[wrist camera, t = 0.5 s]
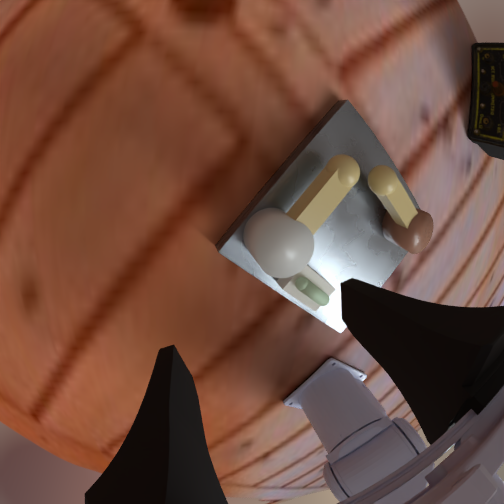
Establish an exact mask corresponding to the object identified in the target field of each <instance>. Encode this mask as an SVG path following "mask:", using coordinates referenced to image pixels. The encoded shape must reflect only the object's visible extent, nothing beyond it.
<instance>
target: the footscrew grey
mask: <svg viewBox="0 0 504 504" xmlns="http://www.w3.org/2000/svg"><path fill="white" fill-rule="evenodd" d="M359 177H360V168H359V165H358V163H357V162H356V160H355V159H353V158H352V157H351V156H348V155H345V154H339V155H335V156H333V157H332V158H331V159H330V160H329V161H328V163H327V165H326V166H325V167H324V169H323V170H322V171H321V172H320V173H319V175H318V176H317V177H316V178H315V179H314V181H313V182H312V183H311V184H310V185H309V187H308V188H307V189H306V190H305V191H304V193H303V194H302V195H301V196H300V197H299V199H298V200H297V201H296V202H295V203H294V205H293V206H292V207H291V208H290V209H289V211H288V212H287V213H286V212H284V211H283V210H281V209H278V208H265V209H262V210H260V211H258V212H256V213H255V214H254V215H252V217H251V218H250V219H249V220H248V222H247V223H246V226H245V228H244V233H243V239H244V244H245V246H246V248H247V249H248V251H249V252H250V254H251V255H252V256H253V258H254V259H255V260H256V262H257V263H258V264H259V266H260V267H261V268H262V270H263V271H264V272H265V273H266V274H268V275H270V276H272V277H275V278H287V277H291V276H293V275H295V274H297V273H299V272H300V271H301V270H303V269H304V268H305V267H306V265H307V264H308V263H309V261H310V259H311V257H312V255H313V251H314V238H313V235H314V234H315V233H316V231H317V230H318V229H319V228H320V227H321V225H322V224H323V223H324V222H325V220H326V219H327V218H328V217H329V216H330V214H331V213H332V212H333V211H334V209H335V208H336V207H337V206H338V204H339V203H340V202H341V201H342V199H343V198H344V197H345V196H346V194H347V193H348V192H349V191H350V189H351V188H352V187H353V186H354V185H355V184H356V183H357V181H358V180H359Z"/></svg>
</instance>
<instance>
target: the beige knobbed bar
mask: <svg viewBox="0 0 504 504" xmlns="http://www.w3.org/2000/svg"><path fill="white" fill-rule="evenodd" d="M368 185H369V187H370V189H371V190H372V191H373V192H374V193H375V194H376V195H377V197H378V198H379V199H380V201H381V202H382V204H383V205H384V207H385V208H386V210H387V212H386V214H385V216H384V219H383V223H382V231H383V234H384V237H385V238H386V239H387V240H389V241H391V242H392V243H394V244H396V245H398V246H400V247H401V248H403V249H405V250H407V251H408V252H410V253H412V254H418V253H420V252H421V251H423V250H424V249H425V247H426V246H427V245H428V243H429V241H430V239H431V236H432V232H433V220H432V217H431V215H430V214H429V213H427V212H425V211H422V210H420V209H417V208H415V207H414V205H413V203H412V201H411V199H410V198H409V196H408V194H407V192H406V191H405V189H404V187H403V186H402V184H401V182H400V181H399V179H398V178H397V175H396V173H395V172H394V170H393V169H392V168H390V167H388V166H386V165H378V166H375V167H374V168H372V169H371V171H370V172H369V175H368Z"/></svg>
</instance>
